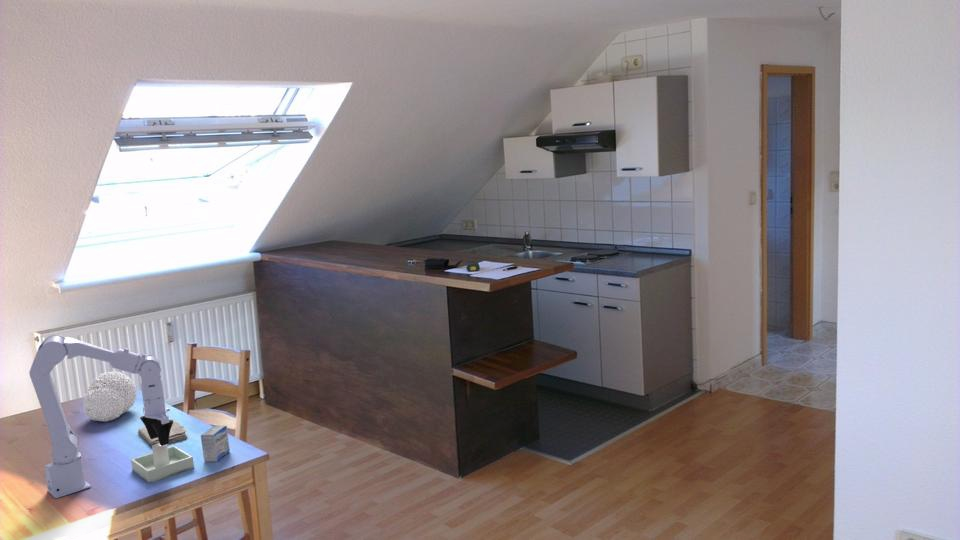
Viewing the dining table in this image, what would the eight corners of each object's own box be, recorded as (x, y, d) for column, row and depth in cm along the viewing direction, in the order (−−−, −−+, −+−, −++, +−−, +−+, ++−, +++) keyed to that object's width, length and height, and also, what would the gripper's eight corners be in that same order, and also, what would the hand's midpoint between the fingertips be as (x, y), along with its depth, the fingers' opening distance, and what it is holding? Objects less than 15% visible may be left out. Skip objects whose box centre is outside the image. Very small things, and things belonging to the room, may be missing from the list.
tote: (149, 483, 227) (147, 471, 226) (132, 470, 237) (130, 459, 236) (194, 467, 236) (192, 456, 235) (176, 456, 245) (174, 445, 245)
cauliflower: (94, 385, 295) (102, 356, 286) (141, 401, 299) (150, 373, 290) (70, 425, 279) (77, 396, 270) (119, 442, 283) (129, 413, 274)
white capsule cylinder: (158, 471, 233) (155, 449, 232) (152, 468, 236) (149, 445, 235) (172, 466, 236) (169, 444, 235) (166, 463, 239) (163, 441, 238)
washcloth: (153, 449, 253) (151, 440, 253) (136, 435, 267) (135, 426, 266) (190, 439, 260) (189, 430, 260) (172, 425, 274) (171, 416, 274)
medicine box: (217, 462, 239) (213, 435, 237) (203, 461, 240) (200, 434, 238) (230, 451, 247) (227, 425, 245) (217, 451, 248) (213, 424, 246)
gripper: (176, 398, 230) (182, 443, 232) (157, 388, 240) (163, 431, 242) (152, 405, 225) (158, 450, 227) (133, 395, 235) (139, 438, 238)
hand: (159, 441), depth 235 cm, fingers open, 7 cm apart
